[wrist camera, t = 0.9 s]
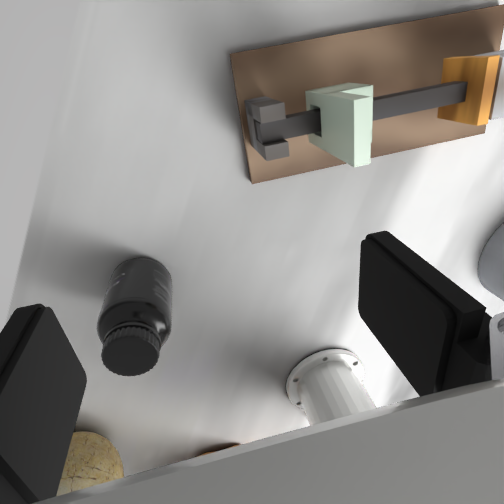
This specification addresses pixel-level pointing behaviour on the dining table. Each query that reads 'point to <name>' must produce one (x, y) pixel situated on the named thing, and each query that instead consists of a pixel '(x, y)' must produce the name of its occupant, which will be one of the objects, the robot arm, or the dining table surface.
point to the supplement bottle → (135, 316)
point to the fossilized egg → (89, 463)
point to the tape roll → (493, 264)
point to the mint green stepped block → (344, 121)
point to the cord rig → (384, 88)
